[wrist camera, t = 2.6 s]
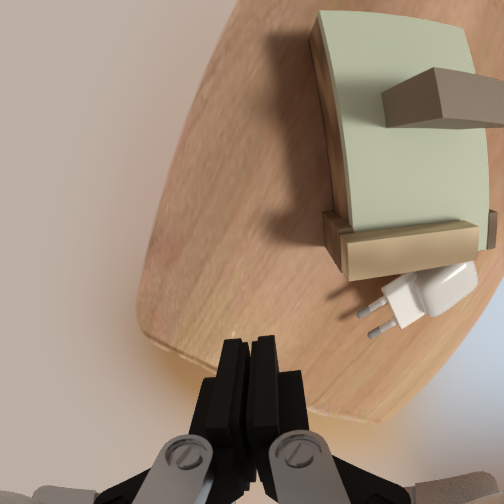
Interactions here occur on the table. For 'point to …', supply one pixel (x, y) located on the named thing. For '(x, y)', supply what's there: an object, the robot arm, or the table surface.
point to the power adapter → (423, 294)
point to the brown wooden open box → (339, 218)
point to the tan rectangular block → (407, 249)
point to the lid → (410, 120)
